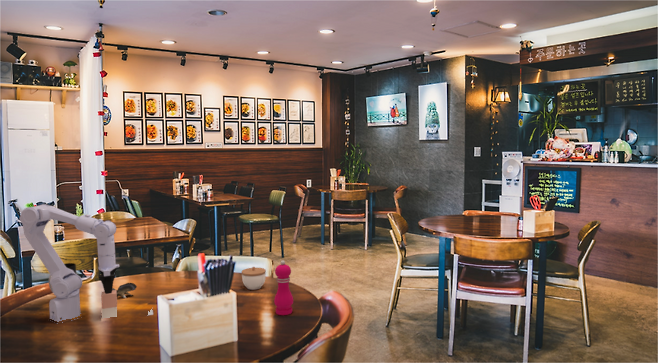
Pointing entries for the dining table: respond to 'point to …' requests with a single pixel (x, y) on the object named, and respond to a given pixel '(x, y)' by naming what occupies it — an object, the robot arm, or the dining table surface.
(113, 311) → the cream base brick
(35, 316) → the dining table surface
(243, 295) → the dining table surface
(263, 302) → the dining table surface
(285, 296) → the pepper mill
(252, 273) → the lidded jar
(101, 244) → the robot arm
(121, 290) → the squirrel figurine
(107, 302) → the pink cube
